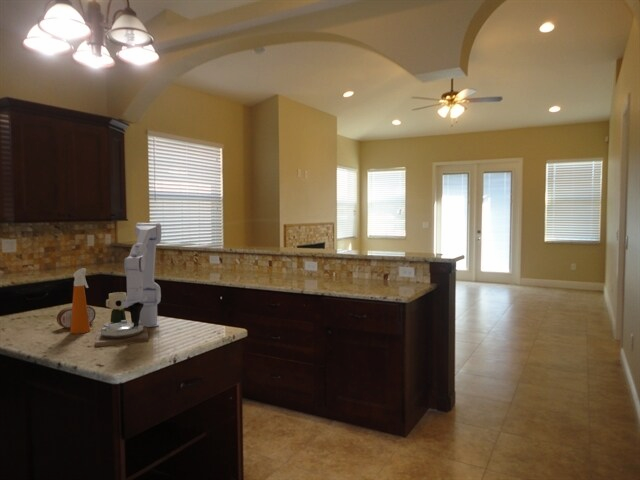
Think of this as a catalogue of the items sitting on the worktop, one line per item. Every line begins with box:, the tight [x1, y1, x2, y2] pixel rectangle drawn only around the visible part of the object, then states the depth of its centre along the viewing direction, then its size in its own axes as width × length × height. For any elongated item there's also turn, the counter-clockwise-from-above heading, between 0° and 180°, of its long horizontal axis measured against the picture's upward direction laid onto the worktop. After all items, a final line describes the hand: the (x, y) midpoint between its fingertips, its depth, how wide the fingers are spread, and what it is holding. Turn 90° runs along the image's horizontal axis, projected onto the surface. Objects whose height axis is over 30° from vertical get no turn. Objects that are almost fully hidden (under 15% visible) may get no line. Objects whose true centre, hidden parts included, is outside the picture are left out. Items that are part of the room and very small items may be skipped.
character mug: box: [105, 291, 127, 324], centre depth 198 cm, size 11×7×13 cm, turn 148°
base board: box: [94, 326, 149, 348], centre depth 176 cm, size 18×18×2 cm
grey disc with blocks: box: [100, 319, 143, 338], centre depth 176 cm, size 15×15×7 cm
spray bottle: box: [70, 267, 91, 335], centre depth 182 cm, size 7×11×26 cm, turn 53°
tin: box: [56, 304, 97, 329], centre depth 193 cm, size 15×3×8 cm, turn 141°
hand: (135, 322), depth 176 cm, fingers closed, pressing on grey disc with blocks
